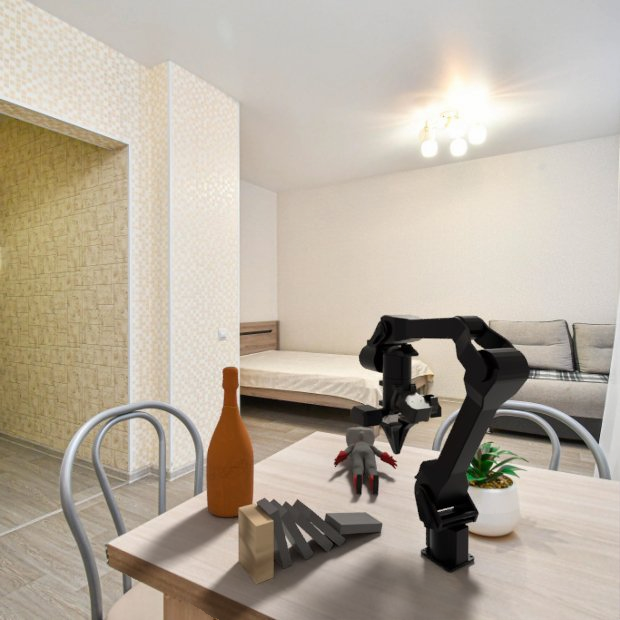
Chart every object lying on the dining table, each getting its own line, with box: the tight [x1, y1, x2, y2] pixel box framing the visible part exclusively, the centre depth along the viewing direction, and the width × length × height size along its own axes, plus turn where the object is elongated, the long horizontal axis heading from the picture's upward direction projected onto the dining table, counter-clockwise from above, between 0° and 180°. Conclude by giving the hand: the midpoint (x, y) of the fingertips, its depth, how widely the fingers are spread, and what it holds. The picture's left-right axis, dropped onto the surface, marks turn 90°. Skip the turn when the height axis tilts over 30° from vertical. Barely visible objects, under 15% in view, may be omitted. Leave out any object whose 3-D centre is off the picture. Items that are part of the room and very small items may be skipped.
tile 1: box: [323, 511, 383, 535], centre depth 80 cm, size 5×2×10 cm
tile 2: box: [291, 498, 346, 548], centre depth 76 cm, size 5×2×10 cm
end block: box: [237, 502, 275, 585], centre depth 69 cm, size 7×3×9 cm, turn 32°
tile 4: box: [269, 498, 314, 561], centre depth 73 cm, size 5×2×10 cm, turn 32°
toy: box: [333, 425, 398, 495], centre depth 111 cm, size 16×10×30 cm
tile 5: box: [255, 497, 293, 570], centre depth 71 cm, size 5×2×10 cm, turn 32°
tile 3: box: [281, 500, 334, 553], centre depth 75 cm, size 5×2×10 cm
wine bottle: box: [205, 366, 255, 518], centre depth 90 cm, size 10×10×30 cm
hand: (396, 453), depth 86 cm, fingers closed
